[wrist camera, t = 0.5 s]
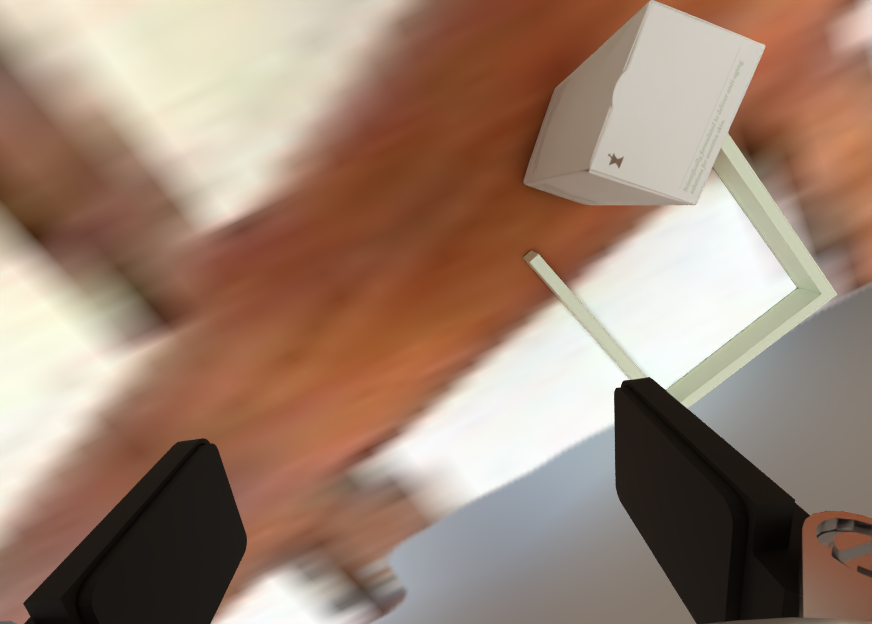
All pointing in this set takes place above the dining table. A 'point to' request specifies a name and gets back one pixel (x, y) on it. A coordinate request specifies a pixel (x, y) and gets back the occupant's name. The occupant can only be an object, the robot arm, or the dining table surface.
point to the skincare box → (644, 112)
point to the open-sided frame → (762, 331)
